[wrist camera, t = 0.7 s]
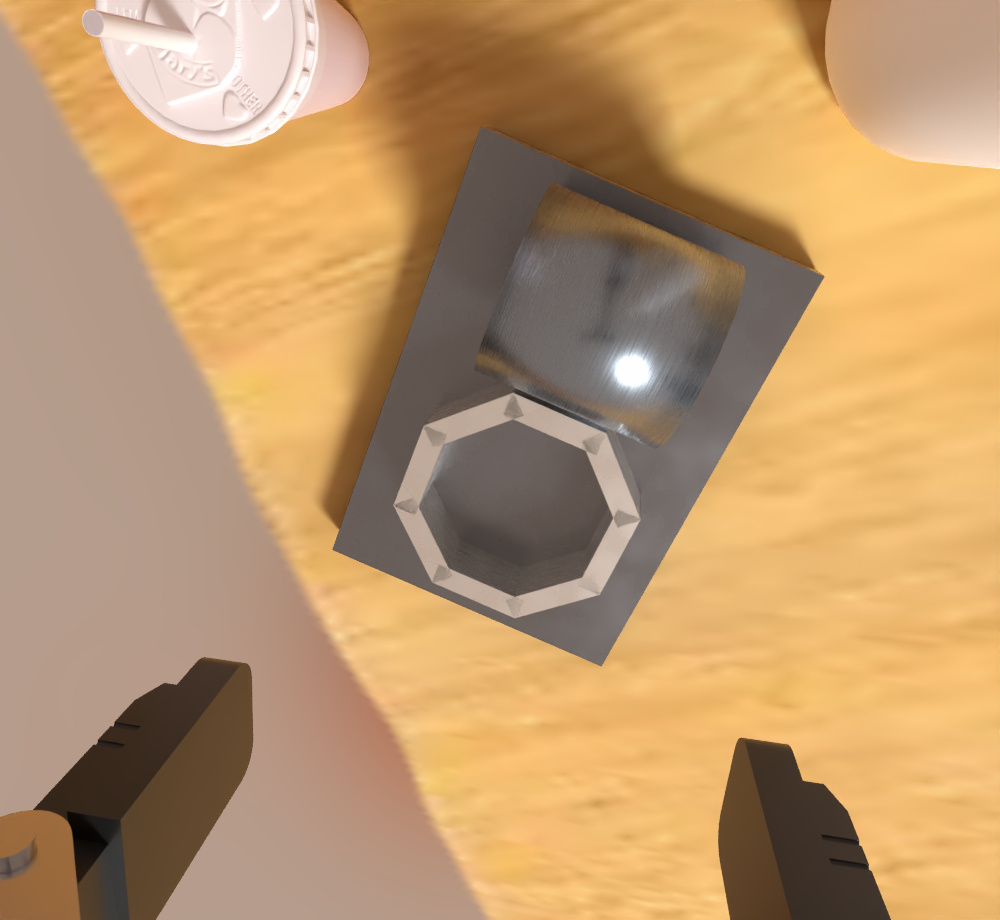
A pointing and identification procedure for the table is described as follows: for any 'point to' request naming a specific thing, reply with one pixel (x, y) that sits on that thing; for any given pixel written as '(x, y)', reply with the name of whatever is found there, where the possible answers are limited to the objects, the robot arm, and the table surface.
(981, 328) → the table surface
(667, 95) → the table surface
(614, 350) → the flat grey tray
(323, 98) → the smoothie
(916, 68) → the alcohol
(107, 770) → the robot arm
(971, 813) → the table surface
